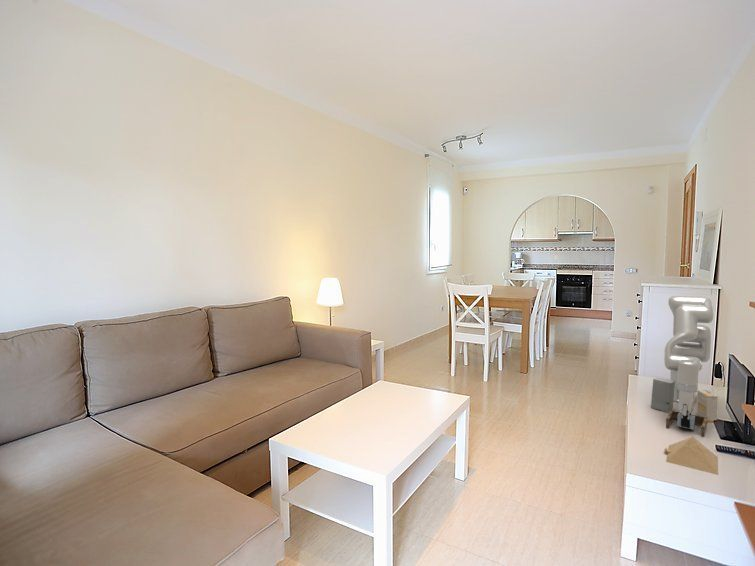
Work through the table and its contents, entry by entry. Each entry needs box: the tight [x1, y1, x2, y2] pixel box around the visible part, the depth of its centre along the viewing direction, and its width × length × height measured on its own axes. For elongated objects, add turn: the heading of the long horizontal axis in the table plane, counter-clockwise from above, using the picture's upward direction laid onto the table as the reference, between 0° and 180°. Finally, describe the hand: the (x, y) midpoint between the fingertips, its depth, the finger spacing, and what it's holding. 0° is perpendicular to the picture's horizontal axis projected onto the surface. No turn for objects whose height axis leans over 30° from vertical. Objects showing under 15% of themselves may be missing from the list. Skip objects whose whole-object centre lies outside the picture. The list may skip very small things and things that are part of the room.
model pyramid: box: [664, 436, 719, 476], centre depth 162 cm, size 17×17×10 cm
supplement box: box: [696, 389, 719, 423], centre depth 197 cm, size 8×5×13 cm, turn 168°
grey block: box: [676, 413, 696, 430], centre depth 188 cm, size 4×6×5 cm
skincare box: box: [650, 376, 675, 413], centre depth 210 cm, size 8×7×16 cm
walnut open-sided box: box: [665, 409, 708, 438], centre depth 189 cm, size 13×14×4 cm
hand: (686, 424), depth 188 cm, fingers closed on grey block, 4 cm apart
